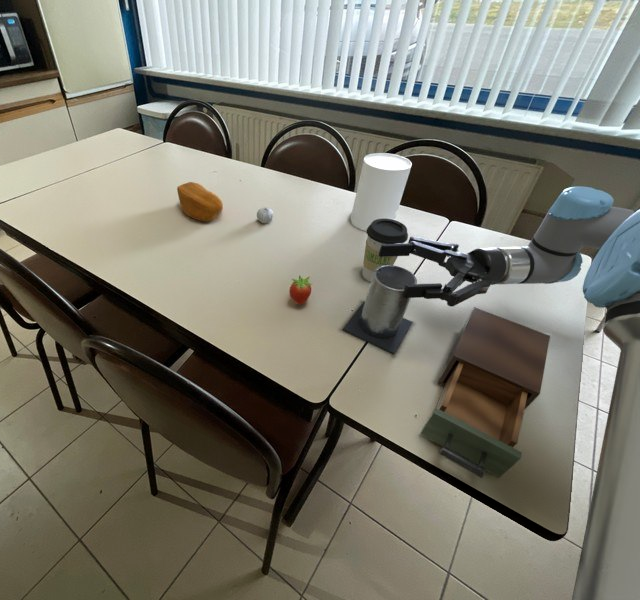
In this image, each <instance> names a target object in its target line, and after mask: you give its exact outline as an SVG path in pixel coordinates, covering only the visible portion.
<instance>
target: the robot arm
mask: <svg viewBox="0 0 640 600" xmlns="http://www.w3.org/2000/svg"><path fill="white" fill-rule="evenodd" d="M614 202H615V200H614V198H613V196H612V195H611V194H610V193H607V192H606V191H603V190H601V189H595V188H594V187H589V186H579V185H578V186H571V187H568V188H565V189H564V190H563V191H562V192H561V193H560V194H559V196H558V197H557V198H556V199H555V200H554V202H553V204H552V205H551V207H549V208H548V210H547V213H546V215H545V216H544V218H543V220H542V222H541V223H540V225H539V227H538V228H537V230H536V232H535V233H534V235H533V237H532V238H531V240H530V241H529V243H528V244H527V245H526V246H501V247H500V246H498V247H479V248H475V249H473V250H471V251H469V252H461V251H459V246H460V245H459V244H458V243H449V242H448V243H447V242H442V241H437V240H432V239H426V238H422V237H417V236H410V237H409V238H408V242H404V243H396V244H382V245H381V248H380V251H379V254H378V255H379V257H389V256H398V257H409V256H410V254H411V255H413V256H415V257H419V258H422V259H425V260H428V261H431V262H433V263H437V265H438V266H439V267H441V268H444V269H446V271H448V272H449V275H450V276H451V277H452V278H451V279H450V280H449V281H448V282H447V283H445V284H444V286H443V284H442V283H440V282H439V283H417V284H406V287H405V289H404V292H403V295H402V296H403V298H411V299H414V298H415V299H419V298H423V299H426V300H435V299H439V300H441V301H445V302H446V305H447V306H448V307H455V306H457V305H459V304H461V303H463V302H465V301H467V300H469V299H471V298H473V297H475V296H476V295H484V294H486V293H487V292H488V290H489V289H490V287H491V286H494V285H521V284H522V285H524V284H525V285H527V284H528V285H529V284H531V285H533V284H536V285H537V284H545V285H546V284H555V283H557V284H558V283H563V282H568V281H571V280H573V279H574V278H576V277H578V275H579V274H580V272H581V271H582V268H581V267H582V264H583V257H582V254H581V252H580V250H581V249H582V247H587V248H592V249H597V250H598V252H597V253H596V255H595V257H594V258H593V260H592V262H591V263H590V265H589V267H588V270H587V272H586V274H585V277H584V279H583V280H584V281H583V284H582V294H583V298H584V299H585V301H586V302H588V303H589V304H592V305H593V306H594V307H596V308H599V309H601V308H602V309H604V308H605V309H606V312H605V320H604V324H603V328H602V329H603V331H602V332H603V334H604V335H605V336H606V338H608V339H609V340H610V341H611V342H612V343H613V344H614V345H615V346H616V347H617V348H619V351H620V352H619V357H618V362H617V368H616V373H615V376H614V383H613V387H612V393H611V398H610V403H609V408H608V413H607V419H606V423H605V427H604V434H603V439H602V443H601V449H600V455H599V459H598V464H597V468H596V474H595V479H594V484H593V491H592V495H591V499H590V505H589V509H588V515H587V519H586V520H587V521H586V524H585V530H584V535H583V540H582V545H581V551H580V555H579V561H578V565H577V567H578V568H577V571H576V577H575V581H574V586H573V590H572V591H573V592H572V597H571V600H640V209H638V210H633V209H628V208H624V207H619V206H618V207H617V206H613V204H614ZM445 260H446V261H445ZM465 282H468V283H470V284H468V285H465V286H464V287H461V288H459V289H458V287H460V286H461V285H462V284H463V283H465ZM457 289H458V290H457Z"/></svg>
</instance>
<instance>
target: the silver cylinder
mask: <svg viewBox="0 0 640 600" xmlns="http://www.w3.org/2000/svg"><path fill="white" fill-rule="evenodd" d="M406 284H418V279H417V276H416V275H415V274H414V273H413V272H412V271H410V270H409V269H406V268H404V267H402V266H399V265H398V266H397V265H386V266H381V267H379V268H377V269H376V270H375V271H374V274H373V278H372V281H371V282H370V284H369V288H368V291H367V294H366V297H365V304H364V307H363V311H362V314H361V317H360V321H359V323H360V326H361V328H362V329H363V330H364V331H365V332H366V333H367V334H369V335H371V336H373V337H376V338H381V339H386V338H391V337H393V336H394V335H395V334H396V333H397V331H398V329H399V326H400V324H401V321H402V319H403V318H405V317H404V316H405V314H406V312H407V309H408V306H409V304H410V302H411V299H412V298H403V296H402V295H403V292H404V289H405V287H406Z"/></svg>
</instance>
